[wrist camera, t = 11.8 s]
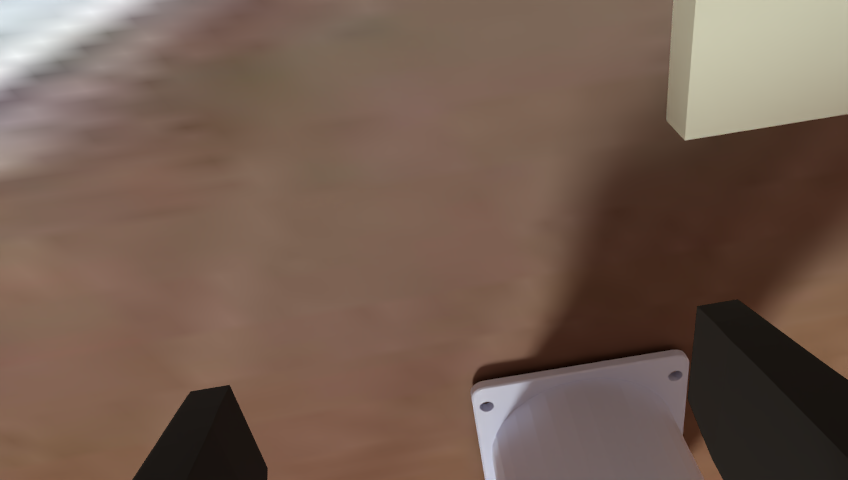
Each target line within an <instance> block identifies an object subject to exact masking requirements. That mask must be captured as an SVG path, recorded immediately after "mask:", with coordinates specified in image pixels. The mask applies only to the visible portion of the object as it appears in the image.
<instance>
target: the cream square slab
mask: <svg viewBox="0 0 848 480" xmlns="http://www.w3.org/2000/svg"><path fill="white" fill-rule="evenodd" d="M846 114H848V0H673V14H672V30H671V47H670V63H669V79H668V96H667V112H666V121H667V122H668V123H669V124H670V125H671V126H672V127H673V128H674V129H675V130H676V132H677V133H678V134H679V135H680V136H681V137H682V138H683V139H684V140H691V139H698V138H704V137H710V136H716V135H722V134H728V133H735V132H741V131H747V130H753V129H759V128H765V127H772V126H778V125H784V124H790V123H796V122H802V121H809V120H815V119H821V118H827V117H833V116H839V115H846Z"/></svg>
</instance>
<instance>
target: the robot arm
mask: <svg viewBox="0 0 848 480" xmlns="http://www.w3.org/2000/svg"><path fill="white" fill-rule="evenodd" d="M674 371H675V372H674ZM672 372H674V373H672ZM688 372H689V359H688V358H687V356H686V354H685V353H684V352H683V351H681V350H668V351H662V352H656V353H650V354H643V355H637V356H631V357H625V358H619V359H613V360H607V361H601V362H595V363H588V364H582V365H576V366H570V367H564V368H558V369H552V370H546V371H540V372H534V373H527V374H521V375H515V376H509V377H503V378H497V379H491V380H485V381H480V382H478V383H476V384H475V385H473V387H472V388H471V397H472V403H473V409H474V415H475V422H476V428H477V434H478V440H479V446H480V452H481V458H482V464H483V470H484V476H485V480H704V478H703V476H702V474H701V472H700V470H699V468H698V466H697V464H696V462H695V460H694V458H693V456H692V454H691V452H690V450H689V448H688V446H687V444H686V442H685V439H684V437H683V428H684V417H685V406H686V394H687V383H688ZM688 401H689V403H690V406H691V408H692V411H693V413H694V416H695V418H696V421H697V423H698V426H699V429H700V431H701V434H702V436H703V438H704V441H705V443H706V445H707V448H708V450H709V453H710V455H711V457H712V460H713V462H714V463H715V465H716V467H717V469H718V471H719V473H720V475H721V476H722V478H723V480H848V380H847V379H846V378H844V377H843V376H842V375H840V374H839V373H837V372H836V371H835V370H833V369H832V368H830V367H829V366H828V365H826V364H825V363H823V362H822V361H821V360H819V359H818V358H817V357H815V356H814V355H812V354H811V353H810V352H808V351H807V350H806V349H804V348H803V347H801V346H800V345H799V344H797V343H796V342H795V341H793V340H792V339H791V338H789V337H788V336H787V335H785V334H784V333H782V332H781V331H780V330H778V329H777V328H776V327H774V326H773V325H772V324H770V323H769V322H768V321H766V320H765V319H764V318H762V317H761V316H760V315H758V314H757V313H756V312H754V311H753V310H751V309H750V308H749V307H747V306H746V305H745V304H743V303H742V302H740V301H739V300H738V299H737V300H731V301H725V302H719V303H713V304H708V305H702V306H697V313H696V323H695V333H694V342H693V352H692V362H691V371H690V381H689V391H688ZM484 402H489V403H486V404H482V403H484ZM132 480H267V466H266V464H265V462H264V459H263V457H262V455H261V453H260V451H259V448H258V446H257V444H256V442H255V440H254V438H253V435H252V433H251V431H250V429H249V427H248V424H247V422H246V420H245V418H244V416H243V413H242V411H241V409H240V407H239V405H238V403H237V400H236V398H235V396H234V394H233V392H232V389H231V387H230V385H227V386H221V387H215V388H209V389H203V390H197V391H191V392H190V393H189V395H188V396H187V397H186V399H185V400H184V402H183V403H182V405H181V406H180V408H179V409H178V411H177V412H176V414H175V415H174V417H173V418H172V420H171V422H170V423H169V425H168V426H167V428H166V429H165V431H164V432H163V434H162V435H161V437H160V438H159V440H158V442H157V443H156V445H155V446H154V448H153V449H152V451H151V452H150V454H149V455H148V457H147V458H146V460H145V461H144V463H143V464H142V466H141V467H140V469H139V471H138V472H137V474H136V475H135V477H134V478H133V479H132Z"/></svg>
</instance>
